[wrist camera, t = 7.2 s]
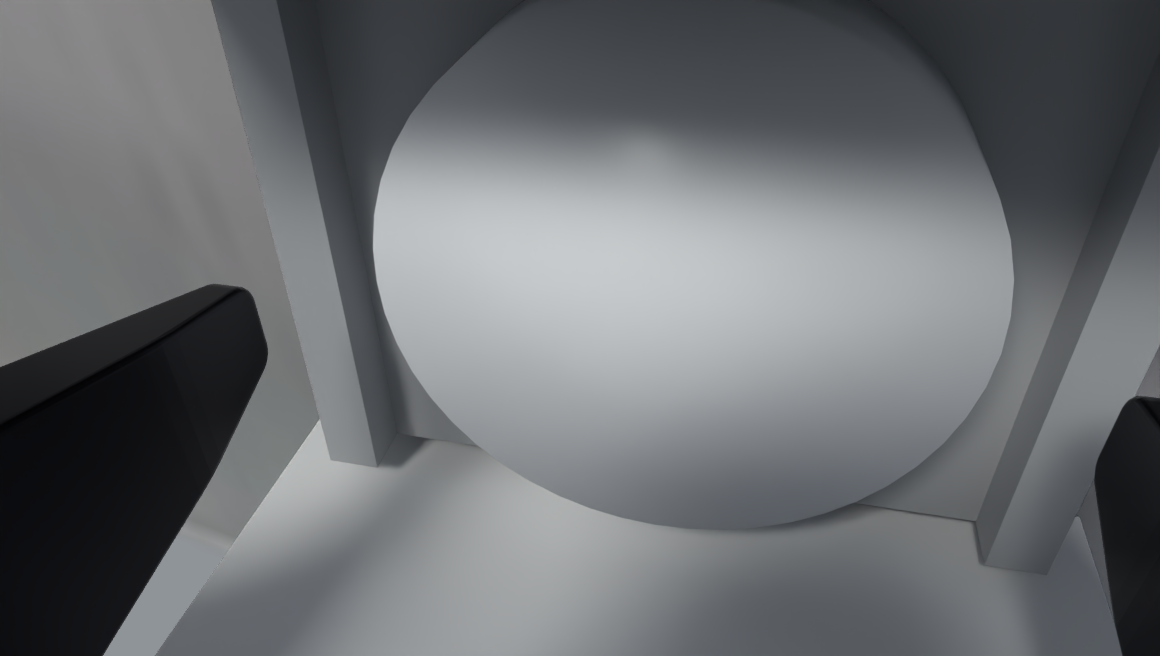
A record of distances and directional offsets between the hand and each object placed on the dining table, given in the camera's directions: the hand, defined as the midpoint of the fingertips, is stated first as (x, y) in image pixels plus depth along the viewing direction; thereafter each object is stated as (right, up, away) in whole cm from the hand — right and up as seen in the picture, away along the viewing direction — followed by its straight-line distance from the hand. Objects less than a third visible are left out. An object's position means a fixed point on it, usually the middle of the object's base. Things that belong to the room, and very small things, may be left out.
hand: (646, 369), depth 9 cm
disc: (+1, +2, +2) cm, 3 cm away
